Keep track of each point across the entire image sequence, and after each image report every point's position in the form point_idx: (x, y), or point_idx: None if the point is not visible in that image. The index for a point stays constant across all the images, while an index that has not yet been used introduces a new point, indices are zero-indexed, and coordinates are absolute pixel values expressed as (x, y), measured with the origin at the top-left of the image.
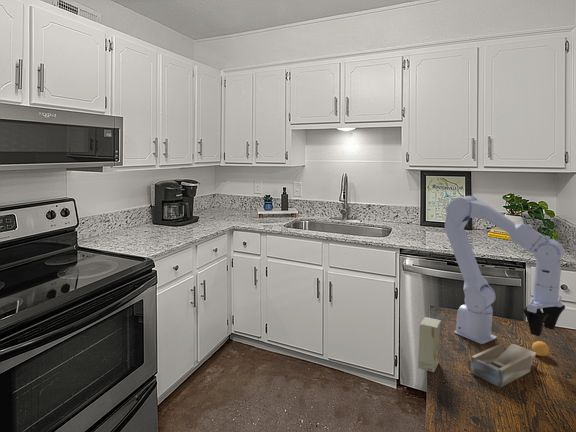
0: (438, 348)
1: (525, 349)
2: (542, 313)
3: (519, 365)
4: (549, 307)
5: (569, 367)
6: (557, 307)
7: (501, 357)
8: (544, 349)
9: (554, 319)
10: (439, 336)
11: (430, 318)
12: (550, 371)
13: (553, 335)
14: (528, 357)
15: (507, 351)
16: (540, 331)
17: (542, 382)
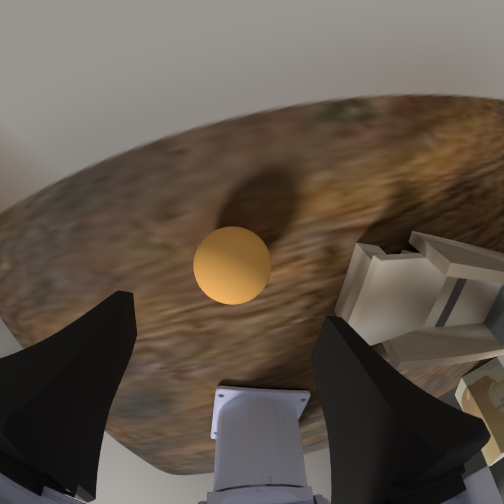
0: (490, 398)
1: (370, 302)
2: (440, 469)
3: (494, 264)
4: (74, 461)
5: (256, 120)
6: (34, 447)
7: (412, 325)
8: (258, 247)
9: (93, 346)
10: (497, 420)
11: (496, 460)
12: (363, 173)
13: (17, 267)
14: (467, 264)
15: (386, 334)
16: (360, 337)
17: (457, 180)
